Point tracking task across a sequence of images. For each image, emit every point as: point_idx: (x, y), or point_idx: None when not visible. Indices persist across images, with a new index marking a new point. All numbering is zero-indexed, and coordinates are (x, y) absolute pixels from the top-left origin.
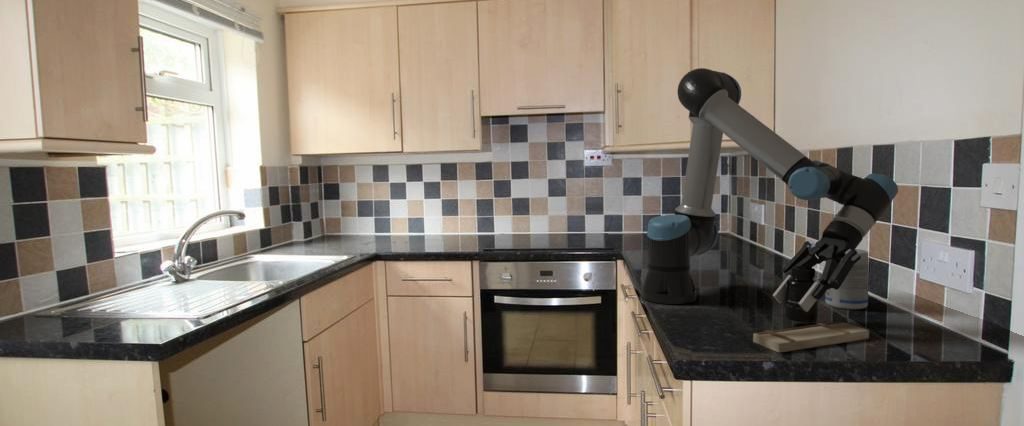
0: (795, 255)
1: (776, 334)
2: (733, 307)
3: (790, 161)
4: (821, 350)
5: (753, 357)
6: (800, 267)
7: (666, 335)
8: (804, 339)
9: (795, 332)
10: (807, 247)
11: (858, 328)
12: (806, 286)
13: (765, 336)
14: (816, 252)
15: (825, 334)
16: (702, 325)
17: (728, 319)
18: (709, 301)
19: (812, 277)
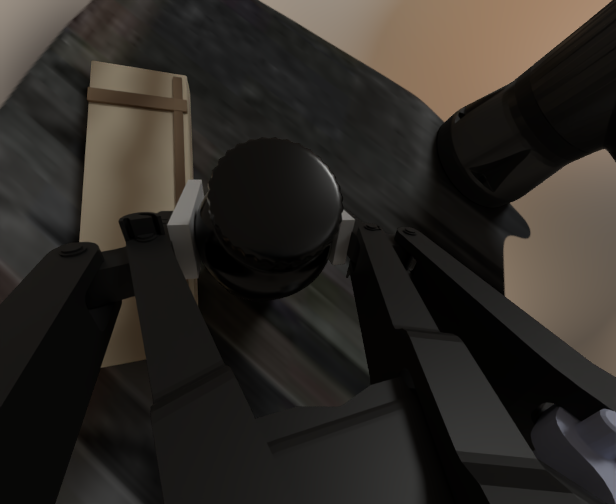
0: (498, 295)
1: (149, 99)
2: (412, 227)
3: None
4: (69, 168)
5: (102, 24)
6: (303, 196)
7: (275, 11)
8: (91, 131)
9: (154, 157)
10: (597, 414)
11: (106, 352)
12: (206, 195)
13: (155, 78)
14: (420, 384)
15: (102, 211)
16: (312, 93)
17: (337, 159)
18: (453, 212)
19: (211, 221)
